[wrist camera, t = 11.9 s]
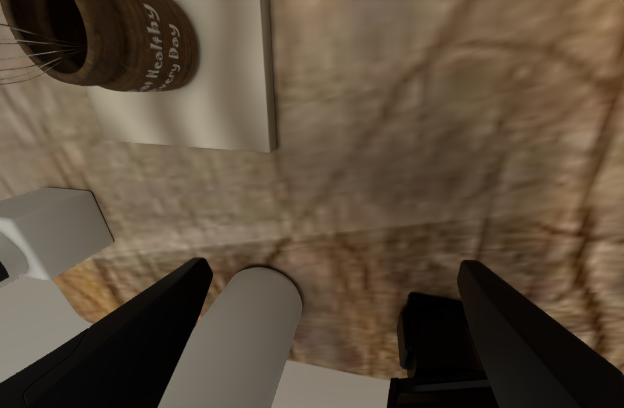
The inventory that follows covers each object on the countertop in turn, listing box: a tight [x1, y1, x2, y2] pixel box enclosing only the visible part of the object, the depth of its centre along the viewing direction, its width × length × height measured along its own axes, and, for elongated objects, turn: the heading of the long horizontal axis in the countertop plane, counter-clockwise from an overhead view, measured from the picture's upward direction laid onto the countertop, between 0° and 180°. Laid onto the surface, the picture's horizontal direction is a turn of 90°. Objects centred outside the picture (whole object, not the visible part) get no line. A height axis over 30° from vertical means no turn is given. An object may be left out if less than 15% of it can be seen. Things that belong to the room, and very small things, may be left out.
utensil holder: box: [0, 0, 198, 92], centre depth 12 cm, size 6×6×12 cm
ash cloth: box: [85, 0, 277, 153], centre depth 18 cm, size 16×14×2 cm
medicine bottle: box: [0, 187, 113, 288], centre depth 24 cm, size 7×7×12 cm
